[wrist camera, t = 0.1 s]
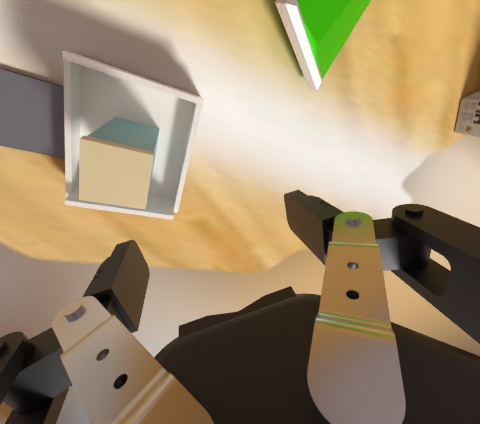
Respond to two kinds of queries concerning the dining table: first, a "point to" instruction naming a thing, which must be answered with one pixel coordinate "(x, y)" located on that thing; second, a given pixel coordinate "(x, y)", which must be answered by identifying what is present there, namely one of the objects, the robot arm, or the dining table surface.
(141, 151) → the tea tin
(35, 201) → the dining table surface
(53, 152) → the coaster
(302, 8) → the green and white wedge
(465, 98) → the coffee box
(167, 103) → the tote
